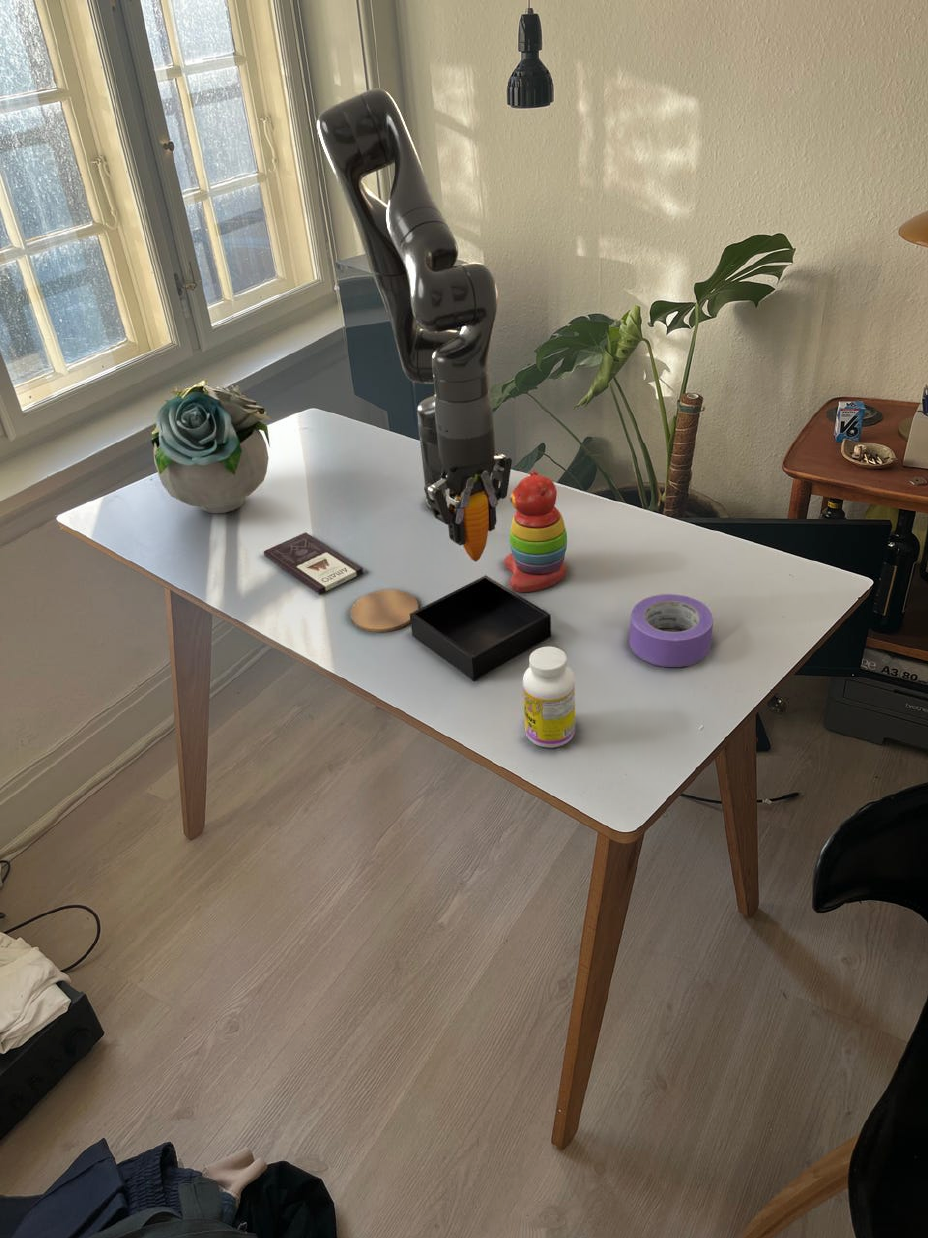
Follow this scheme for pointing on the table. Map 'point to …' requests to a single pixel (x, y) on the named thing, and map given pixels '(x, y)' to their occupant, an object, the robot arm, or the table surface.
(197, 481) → the flower arrangement
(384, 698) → the table surface
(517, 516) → the stacking bear
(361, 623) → the disc
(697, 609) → the tape roll
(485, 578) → the tray
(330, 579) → the chocolate bar
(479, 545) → the carrot
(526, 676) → the supplement bottle
